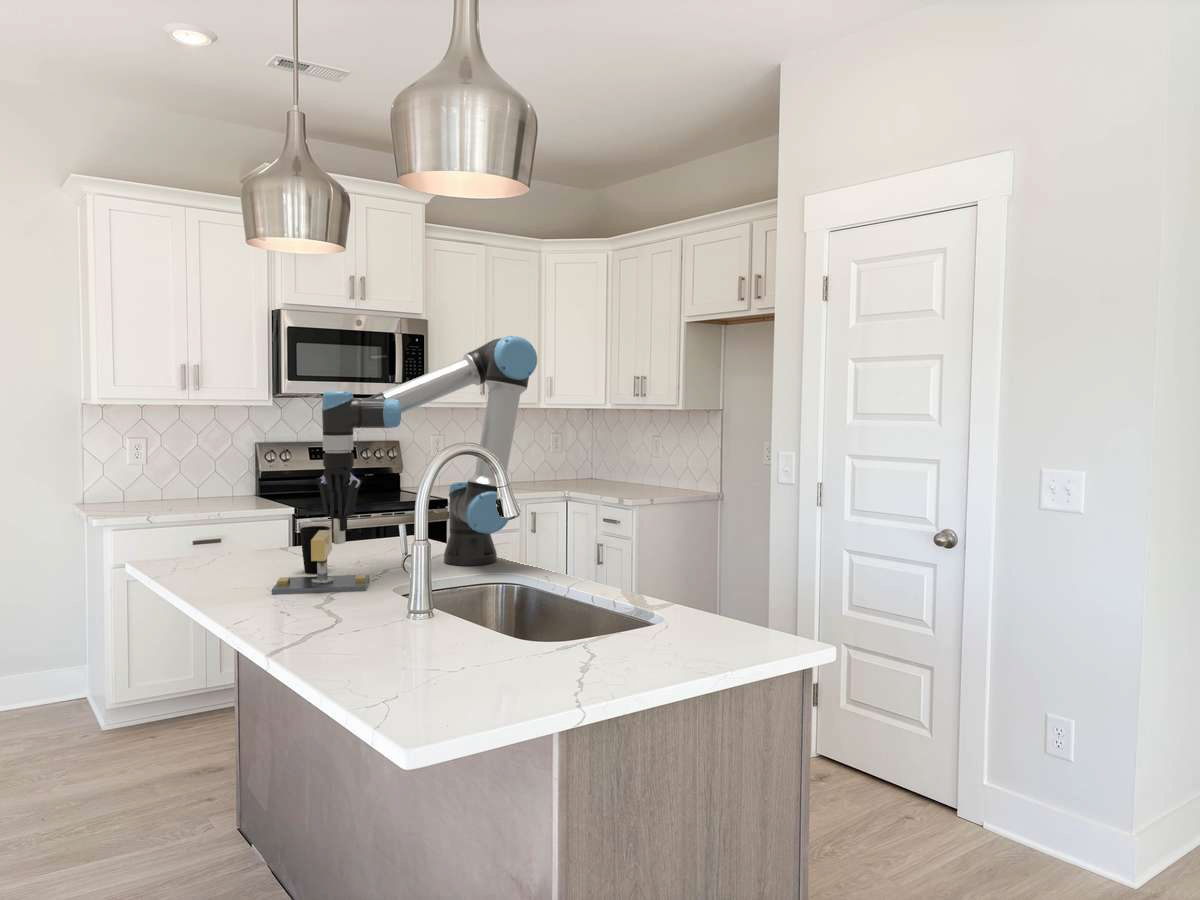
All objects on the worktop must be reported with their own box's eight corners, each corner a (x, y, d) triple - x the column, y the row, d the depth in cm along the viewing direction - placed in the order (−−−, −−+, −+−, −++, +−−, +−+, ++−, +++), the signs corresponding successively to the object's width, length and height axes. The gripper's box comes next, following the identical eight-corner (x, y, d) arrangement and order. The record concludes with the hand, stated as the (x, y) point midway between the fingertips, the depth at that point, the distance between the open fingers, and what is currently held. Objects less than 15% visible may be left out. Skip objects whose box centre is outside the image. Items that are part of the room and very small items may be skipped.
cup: (324, 574, 235) (324, 530, 234) (296, 574, 235) (295, 530, 234) (334, 569, 243) (333, 526, 242) (306, 569, 243) (305, 525, 242)
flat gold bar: (332, 555, 229) (331, 529, 228) (325, 567, 213) (324, 540, 213) (319, 555, 228) (319, 530, 228) (311, 567, 212) (310, 540, 212)
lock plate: (369, 578, 230) (369, 556, 230) (365, 590, 216) (365, 566, 216) (281, 582, 226) (280, 559, 225) (271, 594, 212) (271, 569, 212)
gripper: (368, 451, 225) (369, 542, 227) (327, 450, 230) (329, 539, 232) (349, 453, 218) (350, 547, 220) (307, 451, 224) (309, 543, 225)
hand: (339, 543), depth 226 cm, fingers closed
